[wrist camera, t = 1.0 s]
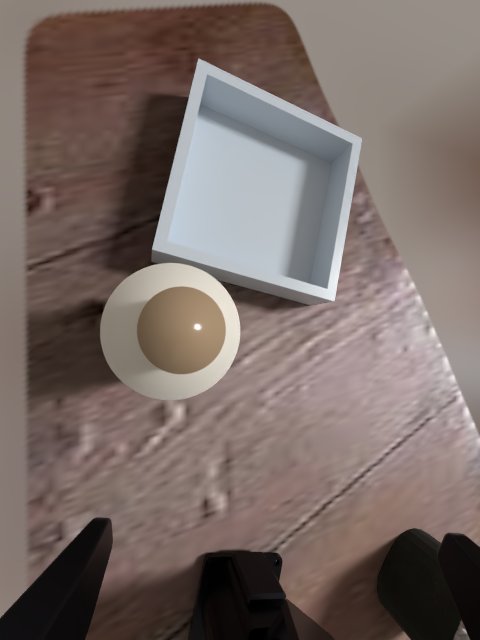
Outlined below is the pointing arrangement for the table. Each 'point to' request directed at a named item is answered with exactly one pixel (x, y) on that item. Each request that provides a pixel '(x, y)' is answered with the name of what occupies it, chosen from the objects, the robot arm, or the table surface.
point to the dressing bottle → (170, 331)
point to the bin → (258, 191)
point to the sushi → (419, 590)
